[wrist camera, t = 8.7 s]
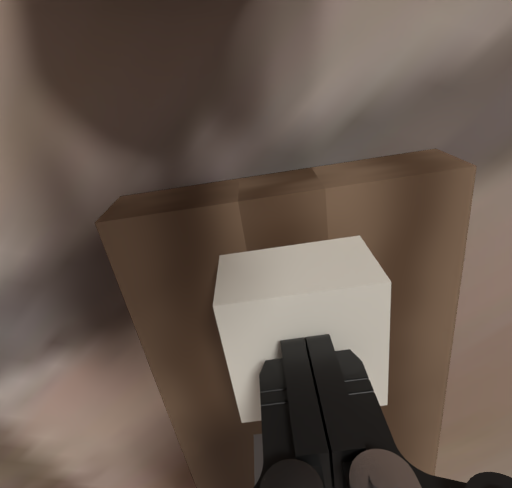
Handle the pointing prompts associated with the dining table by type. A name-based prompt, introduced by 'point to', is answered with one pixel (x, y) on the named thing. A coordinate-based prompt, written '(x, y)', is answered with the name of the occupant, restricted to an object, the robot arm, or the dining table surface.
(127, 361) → the dining table surface
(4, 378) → the dining table surface
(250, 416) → the cream block
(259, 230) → the key panel
